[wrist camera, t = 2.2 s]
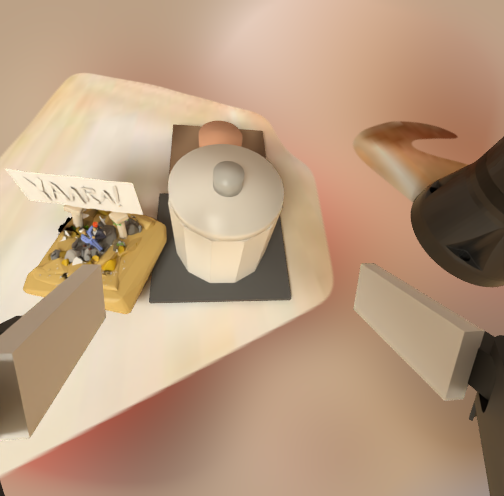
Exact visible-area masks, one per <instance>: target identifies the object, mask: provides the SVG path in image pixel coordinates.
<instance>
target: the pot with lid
mask: <svg viewBox="0 0 504 496" xmlns="http://www.w3.org/2000/svg"><path fill="white" fill-rule="evenodd" d="M168 192H169V200H168V205H169V211H170V216H171V222H172V228H173V234H174V240H175V246H176V251H177V254H178V256H179V257H180V259H181V261H182V262H183V264H184V266H185V267H186V269H187V270H188V272H190V273H192V274H193V275H195V276H197V277H199V278H201V279H203V280H205V281H207V282H209V283H235V282H237V281H239V280H241V279H242V278H244V277H246V276H248V275H249V274H251V273H253V272H255V270H256V268H257V266H258V264H259V263H260V261H261V259H262V257H263V255H264V253H265V251H266V248H267V246H268V243H269V241H270V238H271V235H272V233H273V230H274V228H275V225H276V223H277V220H278V218H279V215H280V213H281V210H282V208H283V205H282V204H283V200H284V187H283V182H282V180H281V177H280V175H279V174H278V172H277V170H276V169H275V168H274V166H273V165H272V164H271V163H270V162H269V161H268V160H266V159H265V158H264V157H262V156H261V155H259V154H258V153H256V152H254V151H252V150H249V149H247V148H244V147H240V146H236V145H229V144H214V145H207V146H203V147H200V148H197V149H194V150H192V151H190V152H189V153H187V154H186V155H184V156H183V157H182V158H181V159H179V160H178V161H177V163H176V164H175V165H174V167H173V169H172V170H171V173H170V175H169V180H168Z"/></svg>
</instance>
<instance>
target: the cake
mask: <svg viewBox="0 0 504 496" xmlns="http://www.w3.org/2000/svg"><path fill="white" fill-rule="evenodd" d="M5 169H6V168H5ZM6 171H7V172H8V173H9V175H10V176H11V177H12V179H13V180H14V181H15V182H16V184H17V185H18V186H19V188H20V189H21V190H22V192H23V193H24V194H25V195H26V197H27V198H28V199H29V201H30V200H31V201H41V202H46V203H59V204H63V205H64V211H67V212H70V213H72V217H71V216H70V217H67V220H66V221H65V222H64V223H63V225H60V226H59V229H58V232H59V234H58V238H57V239H56V241H55V242H54V243H53V245H52V246H51V248H50V249H49V251H48V252H47V253H46V255H45V256H44V258H43V259H42V261H41V262H40V264H39V265H38V266H37V267H36V268H35V269H33V271H31V272H30V273H29V274H28V276H27V278H26V281H25V284H24V287H23V290H24V291H25V292H26V293H28V294H32V295H36V296H41V297H46V296H47V295H48V294H49V293H50V292H51V291H53V290H54V289H55V288H56V287H57V286H58V285H60V284H61V283H62V282H63V281H64V280H65V279H67V278H68V277H69V276H70V275H71V274H72V273H74V272H75V271H76V270H77V269H78V268H79V267H81V266H82V265H83V264H101V273H102V283H103V293H104V303H105V310H108V311H113V312H118V313H123V314H128V313H131V311H132V309H133V307H134V305H135V303H136V301H137V299H138V297H139V295H140V293H141V291H142V289H143V287H144V285H145V283H146V281H147V279H148V277H149V275H150V273H151V271H152V269H153V267H154V265H155V263H156V261H157V259H158V257H159V255H160V253H161V251H162V249H163V247H164V245H165V243H166V241H167V235H166V226H165V225H164V224H162V223H161V222H159V221H157V220H155V219H154V218H151V217H148V216H146V215H143V213H142V210H141V207H140V204H139V201H138V198H137V195H136V192H135V189H134V186H133V183H129V182H117V181H105V180H98V179H90V178H81V177H77V176H59V175H51V174H42V173H33V172H25V171H18V170H12V169H6Z"/></svg>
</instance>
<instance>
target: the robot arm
mask: <svg viewBox="0 0 504 496" xmlns="http://www.w3.org/2000/svg"><path fill="white" fill-rule="evenodd" d="M411 222H412V227H413V230H414V233H415V235H416V237H417V239H418V241H419V243H420V244H421V246H422V247H423V248H424V250H425V251H426V252H427V254H428V255H429V256H430V257H431V258H432V259H433V260H434V261H435V262H436V263H437V264H438V265H439V266H441V267H442V268H443V269H444V270H446V271H447V272H449V273H450V274H452V275H454V276H455V277H457V278H459V279H461V280H463V281H465V282H468V283H471V284H474V285H478V286H483V287H499V286H503V285H504V137H503V138H502V139H501V140H499V141H498V142H497V143H496V144H495V145H494V146H493V147H492V148H491V149H489V150H488V151H487V152H486V153H485V154H484V155H483V156H482V157H481V158H479V159H478V160H477V161H476V162H474V163H472V164H470V165H468V166H466V167H464V168H462V169H460V170H458V171H456V172H454V173H452V174H450V175H448V176H446V177H443V178H441V179H439V180H437V181H435V182H434V183H432V184H431V185H429V186H428V187H427V188H426V189H425V190H424V191H423V192H422V193H421V194H420V195H419V196H418V197H417V198H416V199H415V201H414V203H413V205H412V209H411ZM354 310H355V311H356V312H357V313H358V314H359V315H360V316H361V317H362V318H363V319H364V320H365V321H366V322H367V323H368V324H369V325H370V326H371V327H372V328H373V329H374V330H375V331H376V332H377V334H379V336H380V337H381V338H382V339H383V340H384V341H385V342H386V343H388V344H389V346H391V348H392V349H394V351H395V352H396V353H398V355H399V356H401V357H402V358H403V360H405V362H406V363H407V364H408V365H409V366H410V367H411V368H413V370H414V371H415V372H416V373H417V374H418V375H419V376H420V377H421V378H422V379H423V380H424V381H425V382H426V383H427V384H428V385H430V387H432V389H434V391H435V392H436V393H437V394H438V395H439V396H440V397H441V398H442V399H443V400H444V401H447V400H458V399H464V396H465V393H466V390H467V387H468V384H469V385H470V386H472V387H473V388H474V389H475V390H476V391H477V395H476V398H475V401H474V404H473V407H472V410H471V413H470V416H469V419H470V420H473V418H474V417H475V416H477V420H478V426H479V432H480V438H481V444H482V449H483V455H484V461H485V468H486V473H487V479H488V485H489V491H490V496H504V336H502V335H499V336H496V337H494V336H492V335H490V334H489V333H487V332H486V331H484V330H483V329H481V328H479V327H478V326H476V325H474V324H473V323H471V322H470V321H468V320H466V319H465V318H463V317H461V316H460V315H458V314H456V313H455V312H453V311H451V310H450V309H448V308H447V307H445V306H443V305H442V304H440V303H438V302H437V301H435V300H433V299H432V298H430V297H428V296H427V295H425V294H423V293H422V292H420V291H419V290H417V289H415V288H414V287H412V286H410V285H409V284H407V283H405V282H404V281H402V280H401V279H399V278H397V277H395V276H394V275H392V274H391V273H389V272H387V271H386V270H384V269H382V268H381V267H379V266H377V265H376V264H374V263H371V264H370V263H368V264H367V263H365V264H364V263H362V264H361V267H360V273H359V279H358V285H357V292H356V297H355V303H354ZM105 318H106V313H105V303H104V293H103V283H102V273H101V264H83V265H82V266H81V267H79V268H78V269H77V270H76V271H75V272H74V273H72V274H71V275H70V276H69V277H68V278H67V279H65V280H64V281H63V282H62V283H61V284H60V285H58V286H57V287H56V288H55V289H54V290H53V291H51V292H50V293H49V294H48V295H47V296H46V297H44V298H43V299H42V300H41V301H40V302H39V303H37V304H36V305H35V306H34V307H33V308H32V309H30V310H29V311H28V312H27V313H26V314H25V315H23V316H15V317H13V318H11V319H9V320H7V321H5V322H3V323H1V324H0V441H5V440H16V439H27V438H30V437H31V435H32V434H33V432H34V431H35V429H36V427H37V426H38V424H39V423H40V421H41V420H42V418H43V416H44V415H45V413H46V412H47V410H48V408H49V407H50V405H51V404H52V402H53V400H54V399H55V397H56V396H57V394H58V392H59V391H60V389H61V388H62V386H63V385H64V383H65V381H66V380H67V378H68V377H69V375H70V373H71V372H72V370H73V369H74V367H75V365H76V364H77V362H78V361H79V359H80V358H81V356H82V354H83V353H84V351H85V350H86V348H87V346H88V345H89V343H90V342H91V340H92V338H93V337H94V335H95V334H96V332H97V330H98V329H99V327H100V326H101V324H102V323H103V321H104V319H105ZM0 496H5V495H4V492H3V489H2V485H1V483H0Z"/></svg>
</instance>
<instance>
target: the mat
mask: <svg viewBox="0 0 504 496" xmlns="http://www.w3.org/2000/svg"><path fill="white" fill-rule="evenodd" d="M168 200H169V194H160V196H159V206H158V216H157V221H159V222H161V223H162V224H164V225H165V226H166V235H167V241H166V243H165V245H164V247H163V249H162V251H161V253H160V255H159V257H158V259H157V261H156V263H155V265H154V267H153V269H152V277H151V287H150V298H149V302H150V303H181V302H225V301H268V300H290V299H291V294H290V287H289V280H288V273H287V265H286V258H285V251H284V244H283V237H282V229H281V222H280V215H279V218H278V220H277V223H276V225H275V228H274V230H273V233H272V235H271V238H270V241H269V243H268V246H267V248H266V251H265V253H264V255H263V257H262V259H261V261H260V263H259V264H258V266H257V268H256V270H255V272H253V273H251V274H249V275H248V276H246V277H244V278H242V279H241V280H239V281H237V282H235V283H209V282H207V281H205V280H203V279H201V278H199V277H197V276H195V275H193V274H192V273H190V272H188V270H187V269H186V267H185V266H184V264H183V262H182V261H181V259H180V257H179V256H178V254H177V251H176V246H175V240H174V234H173V228H172V222H171V216H170V211H169V205H168Z"/></svg>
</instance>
